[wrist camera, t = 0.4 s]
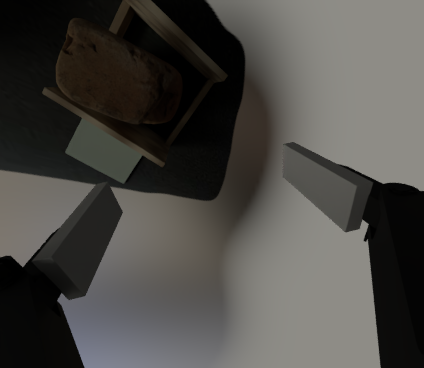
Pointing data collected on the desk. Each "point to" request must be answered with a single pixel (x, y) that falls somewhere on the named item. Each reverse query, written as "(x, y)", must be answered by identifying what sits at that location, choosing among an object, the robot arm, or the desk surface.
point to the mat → (102, 151)
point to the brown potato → (116, 76)
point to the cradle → (139, 133)
